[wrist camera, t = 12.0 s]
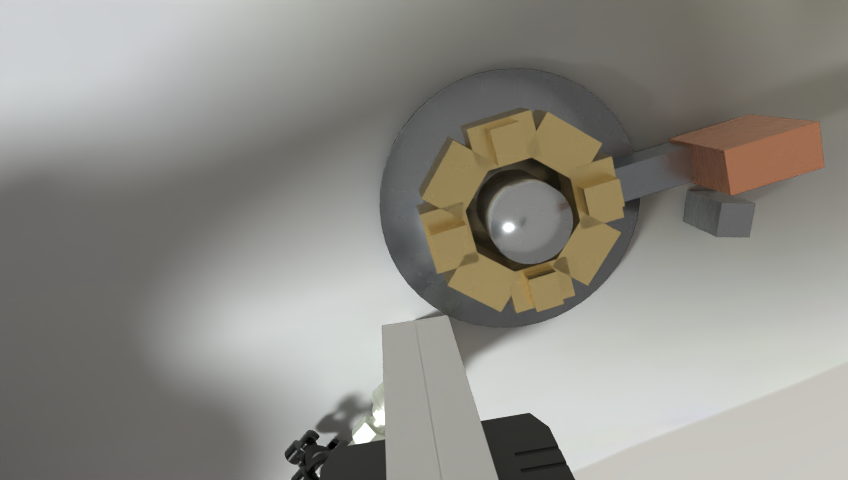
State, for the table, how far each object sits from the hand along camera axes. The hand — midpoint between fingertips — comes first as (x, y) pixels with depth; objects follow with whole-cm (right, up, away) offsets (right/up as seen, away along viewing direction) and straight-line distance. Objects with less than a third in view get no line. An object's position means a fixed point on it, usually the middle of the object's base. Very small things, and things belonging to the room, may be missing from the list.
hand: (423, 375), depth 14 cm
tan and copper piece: (+10, +6, +23) cm, 26 cm away
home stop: (+18, +5, +25) cm, 31 cm away
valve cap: (+5, +5, +24) cm, 25 cm away
